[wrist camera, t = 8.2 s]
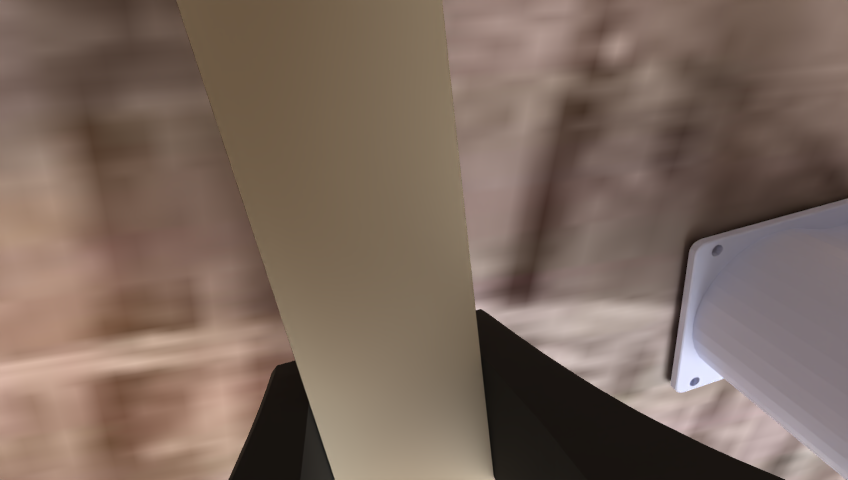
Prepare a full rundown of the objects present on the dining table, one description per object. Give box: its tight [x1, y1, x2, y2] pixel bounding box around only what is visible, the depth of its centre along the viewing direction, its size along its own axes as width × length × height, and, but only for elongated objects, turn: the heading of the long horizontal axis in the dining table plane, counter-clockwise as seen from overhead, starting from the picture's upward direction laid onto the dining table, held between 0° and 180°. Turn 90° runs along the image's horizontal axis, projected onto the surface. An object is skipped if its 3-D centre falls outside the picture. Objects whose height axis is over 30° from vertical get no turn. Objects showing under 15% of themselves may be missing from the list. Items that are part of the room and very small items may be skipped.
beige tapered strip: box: [176, 0, 494, 480], centre depth 9 cm, size 2×16×4 cm, turn 8°
